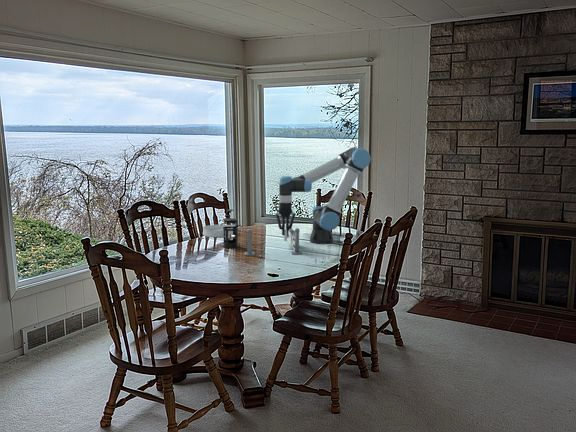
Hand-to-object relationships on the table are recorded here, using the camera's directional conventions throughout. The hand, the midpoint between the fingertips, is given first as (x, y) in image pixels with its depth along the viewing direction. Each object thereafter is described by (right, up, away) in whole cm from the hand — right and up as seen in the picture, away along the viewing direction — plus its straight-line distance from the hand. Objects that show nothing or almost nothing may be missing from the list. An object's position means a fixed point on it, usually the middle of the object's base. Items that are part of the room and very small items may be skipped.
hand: (285, 240), depth 326 cm
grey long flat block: (+4, -3, -2) cm, 6 cm away
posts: (-7, -7, -16) cm, 19 cm away
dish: (-46, +2, +41) cm, 61 cm away
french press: (-33, -4, +3) cm, 34 cm away
